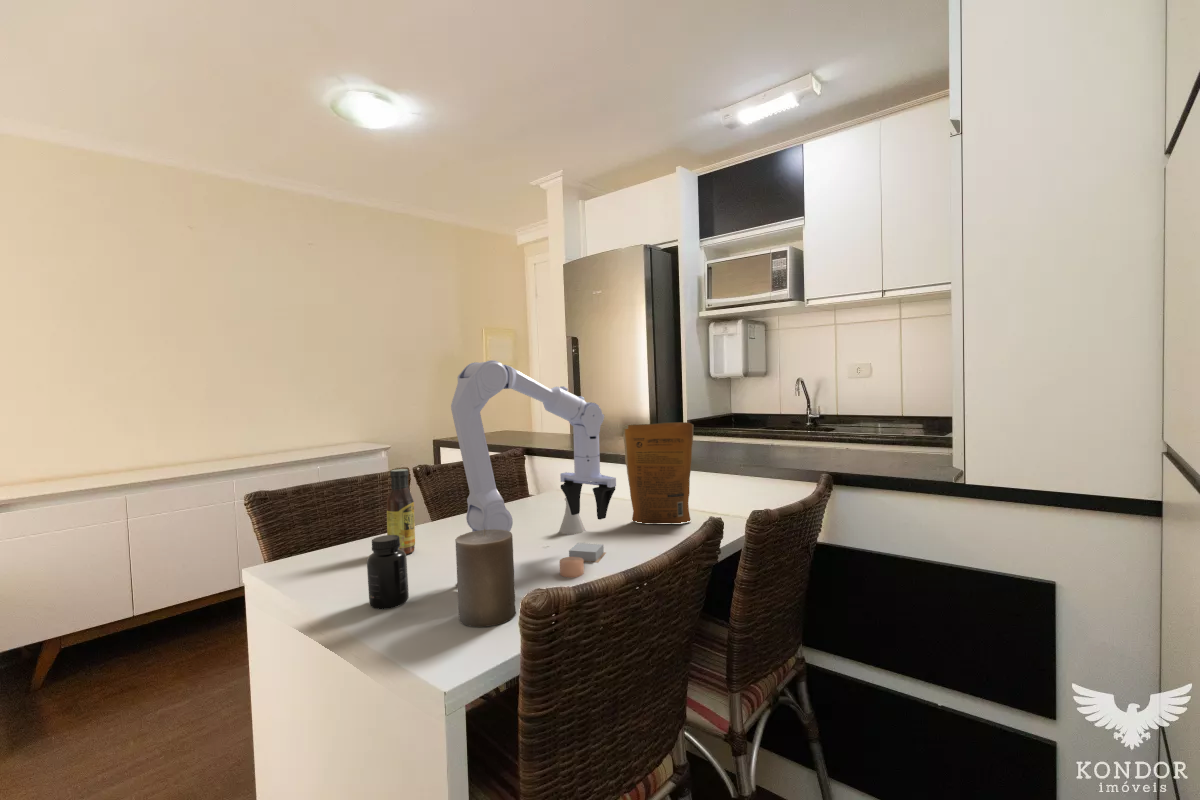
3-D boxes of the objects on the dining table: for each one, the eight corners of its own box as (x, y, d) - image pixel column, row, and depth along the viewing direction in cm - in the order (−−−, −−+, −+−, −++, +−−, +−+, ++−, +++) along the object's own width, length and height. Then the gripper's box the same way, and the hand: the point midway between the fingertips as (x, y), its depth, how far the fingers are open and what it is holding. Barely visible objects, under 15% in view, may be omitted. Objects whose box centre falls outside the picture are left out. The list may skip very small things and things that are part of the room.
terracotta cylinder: (570, 586, 108) (569, 565, 108) (555, 580, 111) (554, 560, 111) (588, 580, 111) (588, 560, 111) (573, 574, 114) (573, 555, 114)
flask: (574, 541, 138) (572, 501, 138) (552, 537, 142) (551, 498, 142) (592, 535, 144) (590, 496, 143) (570, 531, 148) (569, 494, 148)
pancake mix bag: (695, 527, 148) (693, 422, 147) (625, 525, 152) (622, 423, 151) (696, 521, 155) (694, 421, 154) (628, 519, 159) (626, 421, 158)
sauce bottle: (410, 556, 129) (406, 471, 129) (383, 557, 130) (380, 472, 129) (419, 548, 136) (416, 467, 135) (394, 548, 136) (391, 468, 136)
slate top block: (595, 561, 118) (595, 552, 118) (569, 559, 119) (569, 550, 119) (603, 553, 124) (603, 544, 123) (578, 551, 125) (577, 542, 125)
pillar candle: (527, 613, 95) (524, 526, 95) (480, 633, 88) (477, 539, 88) (492, 600, 102) (489, 519, 101) (446, 618, 94) (442, 530, 94)
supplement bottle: (396, 592, 107) (393, 531, 106) (416, 601, 102) (413, 536, 102) (361, 604, 101) (358, 539, 101) (381, 613, 97) (378, 545, 97)
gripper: (623, 455, 122) (625, 516, 123) (573, 452, 131) (575, 509, 132) (604, 459, 117) (605, 523, 117) (553, 455, 126) (555, 514, 126)
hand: (588, 516), depth 124 cm, fingers open, 7 cm apart
